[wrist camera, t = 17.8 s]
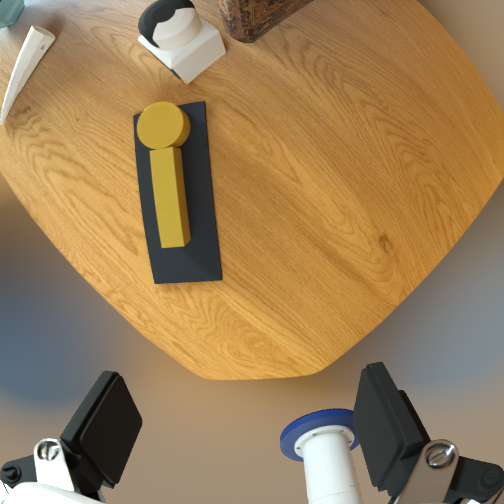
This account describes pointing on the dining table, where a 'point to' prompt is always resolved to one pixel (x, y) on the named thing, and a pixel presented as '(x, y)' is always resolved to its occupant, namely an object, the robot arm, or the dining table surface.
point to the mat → (198, 207)
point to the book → (255, 16)
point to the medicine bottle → (180, 38)
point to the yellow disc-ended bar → (167, 168)
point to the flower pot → (10, 11)
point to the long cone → (26, 64)
